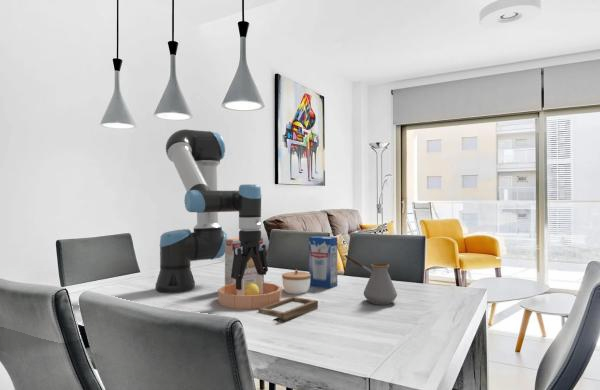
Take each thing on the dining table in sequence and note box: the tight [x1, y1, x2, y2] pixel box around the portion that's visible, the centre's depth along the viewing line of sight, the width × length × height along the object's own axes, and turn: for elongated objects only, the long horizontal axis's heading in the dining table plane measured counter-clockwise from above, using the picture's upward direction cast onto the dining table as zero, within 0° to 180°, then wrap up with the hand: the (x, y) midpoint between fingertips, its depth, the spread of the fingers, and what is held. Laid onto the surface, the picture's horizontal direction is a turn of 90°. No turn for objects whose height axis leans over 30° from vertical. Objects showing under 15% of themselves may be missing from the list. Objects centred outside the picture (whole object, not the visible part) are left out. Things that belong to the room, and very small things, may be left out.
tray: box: [257, 296, 319, 323], centre depth 128 cm, size 10×18×2 cm, turn 145°
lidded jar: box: [281, 269, 311, 295], centre depth 151 cm, size 11×11×9 cm
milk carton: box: [308, 235, 338, 290], centre depth 167 cm, size 10×6×20 cm, turn 58°
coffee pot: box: [342, 254, 398, 306], centre depth 144 cm, size 21×12×15 cm, turn 47°
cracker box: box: [224, 237, 264, 286], centre depth 156 cm, size 14×6×21 cm, turn 131°
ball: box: [244, 282, 259, 295], centre depth 138 cm, size 6×6×6 cm
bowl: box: [217, 281, 283, 310], centre depth 138 cm, size 21×21×6 cm
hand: (250, 296), depth 138 cm, fingers open, 9 cm apart
